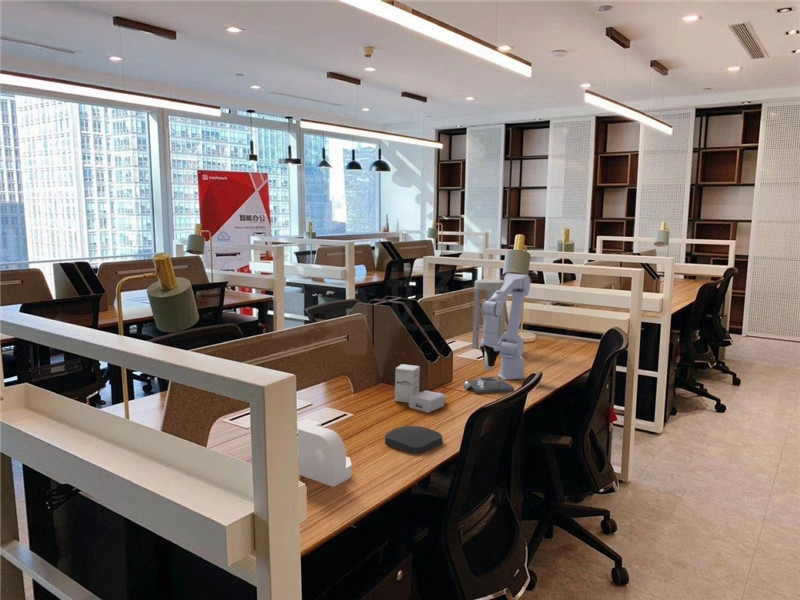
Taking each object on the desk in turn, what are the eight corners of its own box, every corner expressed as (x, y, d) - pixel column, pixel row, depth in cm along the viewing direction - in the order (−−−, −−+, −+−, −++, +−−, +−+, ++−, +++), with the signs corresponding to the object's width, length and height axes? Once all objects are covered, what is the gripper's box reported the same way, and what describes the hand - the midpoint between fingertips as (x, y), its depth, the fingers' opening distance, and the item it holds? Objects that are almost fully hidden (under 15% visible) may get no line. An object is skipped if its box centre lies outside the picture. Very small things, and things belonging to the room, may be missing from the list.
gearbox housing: (500, 382, 247) (500, 373, 246) (513, 391, 234) (514, 382, 234) (459, 384, 242) (459, 376, 242) (471, 394, 230) (471, 385, 229)
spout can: (491, 368, 239) (492, 346, 238) (494, 370, 236) (495, 348, 235) (481, 368, 238) (482, 346, 237) (484, 371, 235) (485, 348, 234)
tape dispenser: (288, 471, 160) (287, 426, 158) (315, 458, 168) (315, 415, 166) (333, 487, 151) (333, 439, 149) (359, 472, 159) (359, 427, 158)
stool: (485, 343, 319) (488, 278, 314) (509, 348, 308) (512, 281, 303) (466, 347, 309) (468, 280, 304) (490, 353, 298) (492, 283, 293)
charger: (453, 403, 219) (429, 413, 207) (433, 398, 225) (408, 407, 213) (454, 391, 218) (429, 400, 207) (433, 386, 224) (408, 395, 213)
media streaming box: (417, 457, 171) (417, 447, 170) (379, 443, 180) (379, 434, 180) (447, 442, 182) (447, 433, 181) (410, 430, 191) (410, 421, 191)
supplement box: (394, 401, 219) (394, 368, 217) (401, 395, 226) (401, 363, 224) (413, 404, 217) (413, 370, 215) (419, 398, 224) (420, 365, 222)
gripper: (474, 328, 241) (473, 360, 243) (488, 335, 227) (487, 370, 229) (490, 327, 243) (489, 360, 245) (505, 334, 229) (504, 369, 231)
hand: (489, 364), depth 237 cm, fingers closed on spout can, 4 cm apart
